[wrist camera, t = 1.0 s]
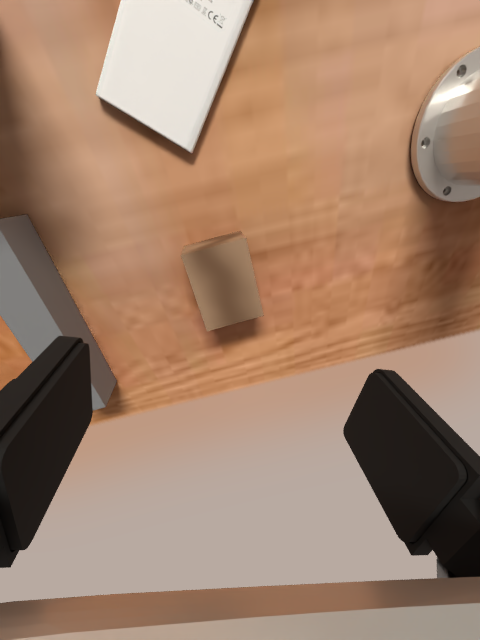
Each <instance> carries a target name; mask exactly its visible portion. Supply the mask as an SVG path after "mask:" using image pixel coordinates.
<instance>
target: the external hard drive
mask: <svg viewBox="0 0 480 640" xmlns="http://www.w3.org/2000/svg"><path fill="white" fill-rule="evenodd" d="M253 1H254V0H121V2H120V6H119V10H118V13H117V17H116V21H115V24H114V28H113V32H112V35H111V39H110V42H109V46H108V50H107V54H106V58H105V61H104V65H103V69H102V73H101V76H100V80H99V84H98V87H97V91H96V96H98V97H99V98H100V99H102V100H103V101H105V102H107V103H108V104H110V105H112V106H113V107H115V108H117V109H118V110H120V111H122V112H123V113H125V114H127V115H128V116H130V117H132V118H133V119H135V120H137V121H138V122H140V123H142V124H143V125H145V126H147V127H148V128H150V129H152V130H153V131H155V132H157V133H158V134H160V135H161V136H163V137H165V138H166V139H168V140H170V141H171V142H173V143H175V144H176V145H178V146H180V147H181V148H183V149H185V150H186V151H188V152H189V153H191V154H192V153H193V151H194V148H195V146H196V143H197V141H198V138H199V136H200V133H201V131H202V128H203V126H204V123H205V121H206V118H207V116H208V113H209V111H210V108H211V106H212V103H213V101H214V98H215V96H216V93H217V91H218V88H219V86H220V83H221V81H222V78H223V76H224V73H225V71H226V68H227V66H228V63H229V61H230V58H231V56H232V53H233V51H234V48H235V46H236V43H237V41H238V38H239V36H240V33H241V31H242V28H243V26H244V23H245V21H246V18H247V16H248V13H249V11H250V8H251V6H252V3H253Z"/></svg>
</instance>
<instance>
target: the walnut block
mask: <svg viewBox="0 0 480 640" xmlns="http://www.w3.org/2000/svg"><path fill="white" fill-rule="evenodd" d="M181 257H182V260H183V263H184V266H185V269H186V272H187V275H188V277H189V280H190V283H191V286H192V289H193V292H194V295H195V298H196V301H197V304H198V307H199V309H200V312H201V315H202V318H203V321H204V324H205V327H206V330H207V331H210V330H214V329H218V328H221V327H225V326H228V325H232V324H236V323H239V322H243V321H247V320H250V319H254V318H257V317H261V316H264V315H263V310H262V306H261V302H260V297H259V293H258V288H257V284H256V279H255V275H254V271H253V266H252V262H251V257H250V253H249V248H248V244H247V240H246V237H245V236H244V235H243V234H242V232H241V231H237V232H234V233H230V234H226V235H223V236H219V237H215V238H212V239H208V240H205V241H201V242H197V243H194V244H190V245H186V246H184V247H183V251H182V254H181Z"/></svg>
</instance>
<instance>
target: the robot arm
mask: <svg viewBox="0 0 480 640" xmlns="http://www.w3.org/2000/svg"><path fill="white" fill-rule="evenodd" d="M411 161H412V167H413V171H414V175H415V177H416V179H417V181H418V183H419V185H420V186H421V187H422V188H423V189H424V191H425V192H426V193H428V194H429V195H430V196H432V197H433V198H436V199H439V200H442V201H449V202H465V201H469V200H473V199H476V198H478V197H480V47H478V48H476V49H474V50H472V51H470V52H468V53H466V54H465V55H463V56H462V57H461V58H459V59H458V60H457V61H455V62H454V63H453V64H452V65H451V66H450V67H449V68H448V69H447V70H446V71H445V72H444V73H443V74H442V75H441V76H440V77H439V79H438V80H437V81H436V83H435V84H434V85H433V87H432V88H431V90H430V91H429V93H428V95H427V97H426V98H425V100H424V102H423V104H422V106H421V109H420V111H419V114H418V116H417V119H416V122H415V126H414V130H413V134H412V143H411ZM92 413H93V408H92V388H91V368H90V348H89V344H88V343H83V340H82V338H78V337H69V336H58V337H57V338H56V339H55V340H54V341H53V342H52V343H51V344H50V345H49V346H48V347H47V348H46V349H45V350H44V351H43V352H42V353H41V354H40V355H39V356H38V357H37V358H36V359H35V360H34V361H33V362H32V363H31V364H30V365H29V366H28V367H27V368H26V369H25V370H24V371H23V372H22V373H21V374H20V375H19V376H18V377H17V378H16V379H13V380H12V381H10V382H9V383H8V384H7V385H6V386H5V387H4V388H3V389H2V390H1V391H0V568H4V567H11V565H12V563H13V561H14V559H15V557H16V555H17V554H18V552H19V550H25V549H26V548H28V546H29V545H30V543H31V541H32V540H33V538H34V536H35V533H36V532H37V530H38V527H39V525H40V523H41V521H42V519H43V517H44V515H45V513H46V511H47V509H48V507H49V505H50V503H51V501H52V499H53V497H54V495H55V493H56V491H57V489H58V487H59V485H60V483H61V481H62V479H63V477H64V474H65V473H66V471H67V469H68V466H69V464H70V462H71V460H72V458H73V456H74V454H75V452H76V450H77V448H78V446H79V444H80V442H81V440H82V438H83V436H84V434H85V432H86V430H87V428H88V426H89V424H90V422H91V418H92ZM344 436H345V439H346V441H347V442H348V444H349V446H350V448H351V450H352V452H353V454H354V455H355V457H356V459H357V461H358V463H359V465H360V467H361V468H362V470H363V472H364V474H365V476H366V477H367V480H368V481H369V483H370V485H371V487H372V489H373V491H374V493H375V495H376V496H377V498H378V500H379V502H380V504H381V505H382V508H383V509H384V511H385V513H386V515H387V517H388V518H389V521H390V522H391V524H392V526H393V528H394V530H395V532H396V534H397V535H398V537H399V538H400V539H401V540H402V541H403V542H404V543H405V544H406V546H407V548H408V550H409V552H410V554H411V555H428V554H429V553H430V552H431V551H432V550H433V551H434V552H435V554H436V555H437V578H436V579H415V580H414V579H411V580H387V581H366V582H344V583H324V584H304V585H303V584H301V585H282V586H260V587H241V588H221V589H203V590H183V591H165V592H146V593H127V594H110V595H96V596H83V597H70V598H55V599H42V600H28V601H14V602H6V603H0V640H480V456H478V454H477V453H476V452H475V451H474V450H473V449H472V448H471V447H469V445H468V444H467V443H465V442H464V441H463V439H462V438H461V437H460V436H459V435H458V434H457V433H456V432H455V431H454V430H453V429H452V428H451V427H450V426H449V425H448V424H447V423H446V422H445V421H444V420H443V419H442V418H441V417H440V416H439V415H438V414H437V413H436V412H435V411H434V410H433V409H432V408H431V407H430V406H429V405H428V404H427V403H426V402H425V401H424V400H423V399H422V398H421V397H420V396H419V395H418V394H417V393H416V392H415V391H414V390H413V389H412V388H411V387H410V386H409V385H408V384H407V383H406V382H405V381H404V380H403V379H402V378H401V377H400V376H399V375H398V374H397V373H396V372H395V371H392V370H381V369H377V370H375V371H374V372H373V373H371V374H370V375H369V376H368V378H367V380H366V382H365V384H364V387H363V388H362V391H361V393H360V395H359V397H358V399H357V401H356V403H355V405H354V407H353V409H352V411H351V413H350V416H349V417H348V420H347V422H346V424H345V426H344Z"/></svg>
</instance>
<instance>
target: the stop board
mask: <svg viewBox="0 0 480 640" xmlns="http://www.w3.org/2000/svg"><path fill="white" fill-rule="evenodd" d="M0 315H1V317H2V318H3V320H4V321H5V323H6V324H7V326H8V327H9V328H10V330H11V331H12V333H13V334H14V336H15V337H16V339H17V340H18V341H19V343H20V344H21V346H22V347H23V349H24V350H25V352H26V353H27V354H28V356H29V357H30V359H31V360H32V362H33V361H34V360H35V359H36V358H37V357H38V356H39V355H40V354H41V353H42V352H43V351H44V350H45V349H46V348H47V347H48V346H49V345H50V344H51V343H52V342H53V341H54V340H55V339H56V338H57V337H58V336H69V337H78V338H82V340H83V343H88V344H89V348H90V368H91V388H92V408H93V410H96V409H100V408H104V407H106V405H107V403H108V401H109V398H110V396H111V394H112V391H113V389H114V387H115V384H116V382H117V380H116V379H115V377H114V375H113V373H112V371H111V369H110V367H109V366H108V364H107V362H106V360H105V358H104V356H103V354H102V353H101V351H100V349H99V347H98V345H97V343H96V341H95V340H94V338H93V336H92V334H91V332H90V330H89V328H88V327H87V325H86V323H85V321H84V319H83V317H82V315H81V314H80V312H79V310H78V308H77V306H76V304H75V302H74V301H73V299H72V297H71V295H70V293H69V291H68V289H67V288H66V286H65V284H64V282H63V280H62V278H61V276H60V275H59V273H58V271H57V269H56V267H55V265H54V263H53V262H52V260H51V258H50V256H49V254H48V252H47V250H46V249H45V247H44V245H43V243H42V241H41V239H40V237H39V236H38V234H37V232H36V230H35V228H34V226H33V224H32V223H31V221H30V219H29V217H28V215H20V216H14V217H8V218H2V219H0Z"/></svg>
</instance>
